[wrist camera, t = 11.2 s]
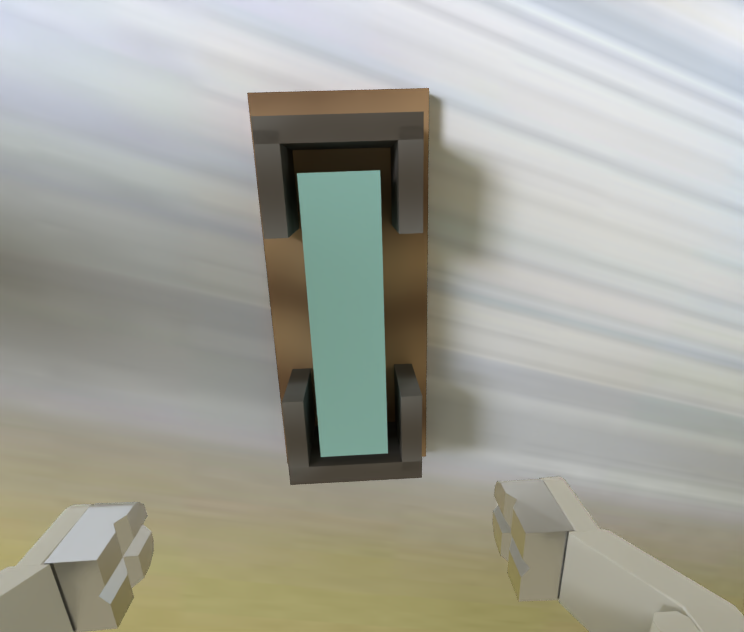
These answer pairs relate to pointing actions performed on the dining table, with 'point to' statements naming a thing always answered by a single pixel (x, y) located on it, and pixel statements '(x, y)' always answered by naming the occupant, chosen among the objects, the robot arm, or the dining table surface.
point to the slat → (346, 308)
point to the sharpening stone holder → (399, 248)
